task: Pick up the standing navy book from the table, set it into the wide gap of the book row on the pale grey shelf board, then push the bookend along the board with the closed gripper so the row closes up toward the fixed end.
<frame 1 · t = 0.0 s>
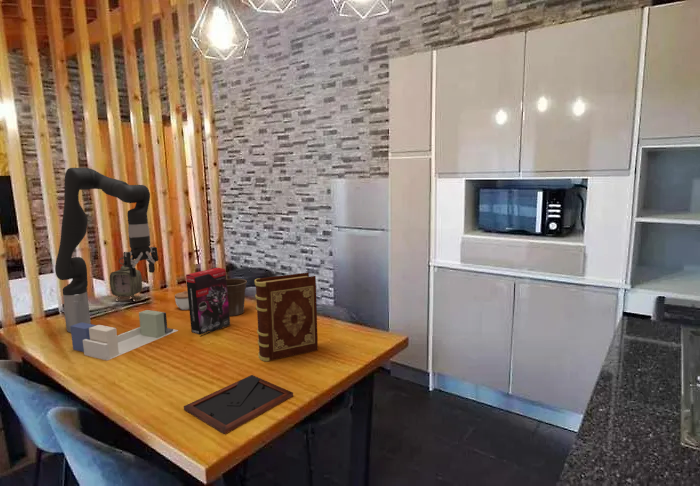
hand: (142, 274, 171), 29 cm above the table, fingers open, 8 cm apart
sage book: (153, 334, 182), point 1 cm above the table, touching shelf board
tabletop clock: (128, 300, 240), on the table
bookend: (161, 320, 185), point 6 cm above the table, slide at 0.0 cm
decorative book: (287, 353, 163), on the table
graphics card box: (210, 330, 190), on the table
plant pot: (232, 313, 214), on the table
ivory book: (105, 354, 162), point 1 cm above the table, touching shelf board
shelf board: (135, 344, 174), on the table
picture frame: (240, 405, 127), on the table
lidded jar: (186, 308, 223), on the table
navy book: (86, 352, 167), on the table
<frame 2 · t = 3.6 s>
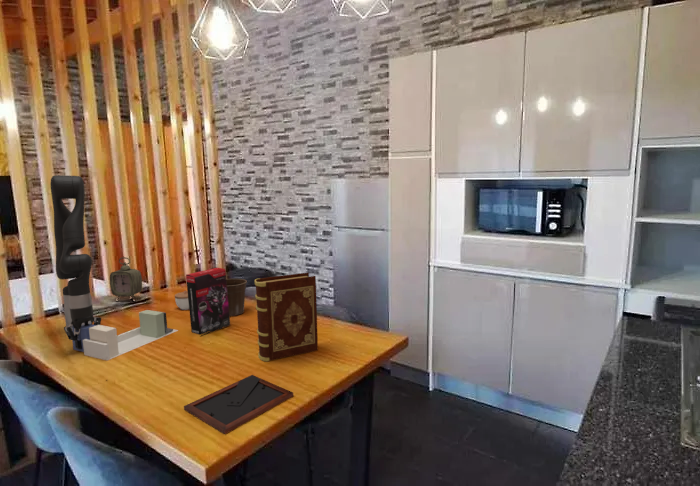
hand: (85, 346, 167), 2 cm above the table, fingers closed on navy book, 4 cm apart
navy book: (86, 352, 167), on the table, touching gripper
everything else where it was.
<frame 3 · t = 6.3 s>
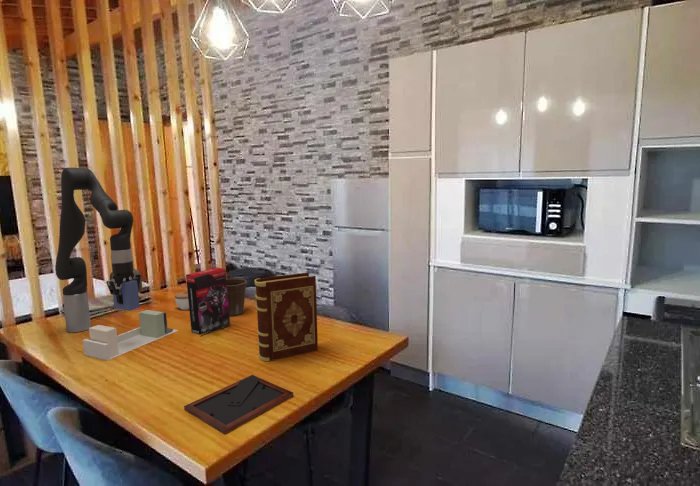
hand: (126, 302, 169), 19 cm above the table, fingers closed on navy book, 4 cm apart
navy book: (127, 307, 169), point 16 cm above the table, touching gripper
everything else where it was.
when the fingers open (5 cm above the table, at t = 9.2 s): navy book drops 1 cm, resting on shelf board.
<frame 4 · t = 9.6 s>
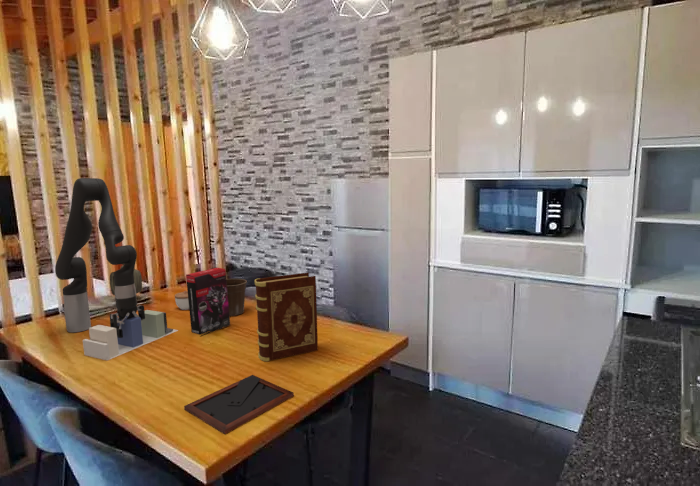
hand: (129, 334, 171), 5 cm above the table, fingers open, 8 cm apart
navy book: (130, 343, 172), point 1 cm above the table, touching shelf board
everything else where it was.
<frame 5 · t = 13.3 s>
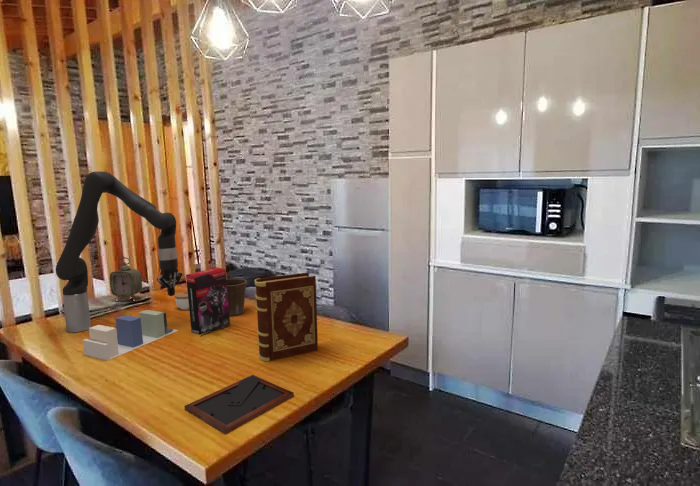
hand: (171, 295, 190), 16 cm above the table, fingers closed
nothing on the table moved.
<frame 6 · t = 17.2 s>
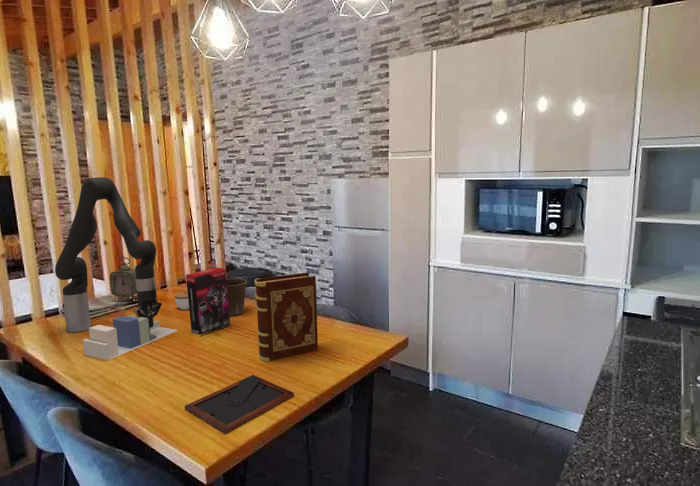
hand: (149, 327, 180), 5 cm above the table, fingers closed
sage book: (137, 341, 174), point 1 cm above the table, touching navy book
bookend: (144, 327, 177), point 6 cm above the table, slide at 8.8 cm, touching hand
navy book: (127, 345, 171), point 1 cm above the table, touching sage book
everything else where it was.
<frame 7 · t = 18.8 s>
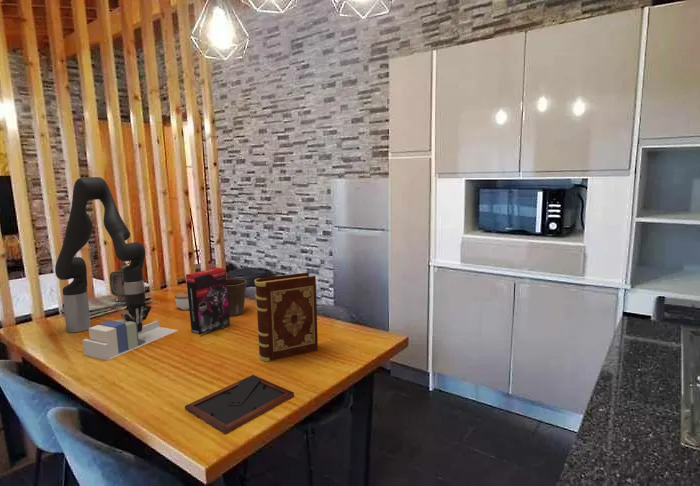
hand: (138, 331, 175), 5 cm above the table, fingers closed
sage book: (124, 346, 169), point 1 cm above the table, touching shelf board
bookend: (132, 331, 172), point 6 cm above the table, slide at 14.4 cm, touching hand
ivory book: (105, 354, 162), point 1 cm above the table, touching navy book, shelf board
navy book: (115, 350, 166), point 1 cm above the table, touching ivory book, shelf board
everything else where it was.
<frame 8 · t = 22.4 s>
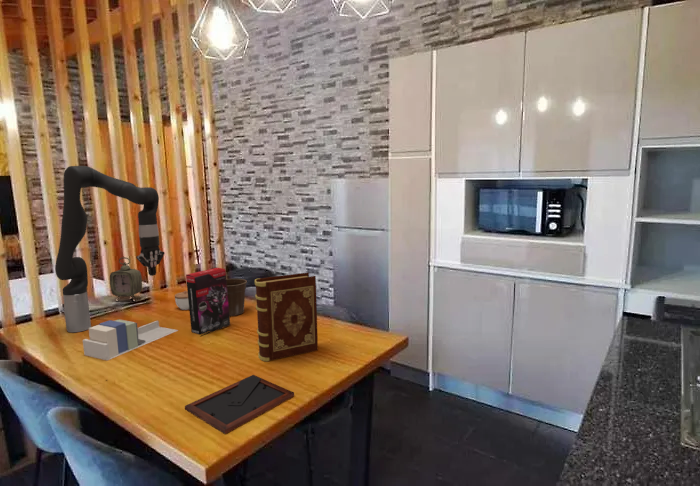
hand: (152, 275, 180), 27 cm above the table, fingers closed
sage book: (124, 346, 169), point 1 cm above the table, touching bookend, navy book, shelf board
bookend: (132, 331, 172), point 6 cm above the table, slide at 14.4 cm, touching sage book
navy book: (115, 350, 166), point 1 cm above the table, touching ivory book, sage book, shelf board
everything else where it was.
at the end: navy book inside the target area (2.2 cm from its centre), point 1.2 cm above the table; navy book tilted 0°; bookend slide at 14.4 cm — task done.
